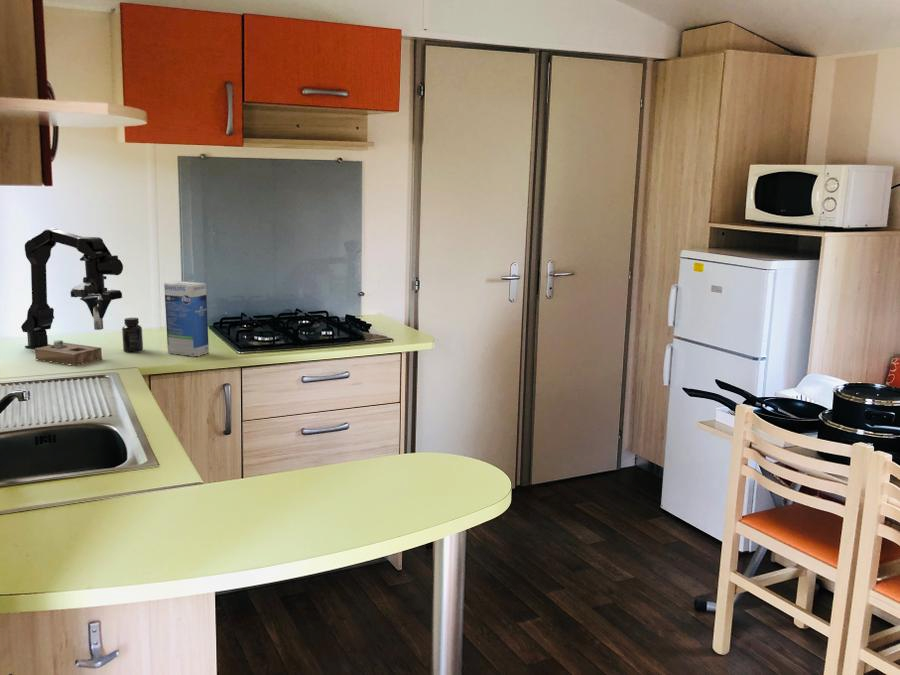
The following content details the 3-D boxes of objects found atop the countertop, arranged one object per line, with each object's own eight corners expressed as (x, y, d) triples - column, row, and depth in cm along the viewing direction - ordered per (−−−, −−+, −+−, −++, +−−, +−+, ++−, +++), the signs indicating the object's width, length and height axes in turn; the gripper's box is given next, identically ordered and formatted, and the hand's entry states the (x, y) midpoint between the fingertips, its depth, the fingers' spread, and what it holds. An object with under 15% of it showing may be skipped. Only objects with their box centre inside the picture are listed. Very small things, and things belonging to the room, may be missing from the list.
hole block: (74, 365, 291) (73, 354, 290) (35, 359, 298) (34, 348, 297) (101, 358, 302) (101, 347, 301) (63, 353, 308) (62, 342, 308)
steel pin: (92, 329, 304) (90, 307, 303) (98, 328, 307) (97, 305, 305) (98, 330, 303) (97, 307, 302) (105, 328, 306) (103, 306, 304)
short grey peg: (52, 358, 301) (51, 341, 299) (59, 356, 303) (58, 340, 302) (59, 359, 299) (58, 342, 298) (66, 357, 302) (64, 340, 301)
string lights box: (209, 353, 314) (207, 283, 308) (196, 357, 307) (193, 285, 302) (180, 349, 319) (177, 280, 313) (166, 353, 312) (163, 282, 306)
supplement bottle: (146, 349, 318) (144, 317, 316) (138, 353, 311) (136, 320, 309) (128, 348, 319) (126, 316, 316) (119, 352, 312) (118, 319, 310)
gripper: (56, 275, 298) (60, 319, 301) (97, 278, 290) (100, 323, 293) (81, 271, 308) (85, 314, 311) (121, 274, 300) (124, 318, 303)
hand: (98, 317), depth 304 cm, fingers closed on steel pin, 3 cm apart
